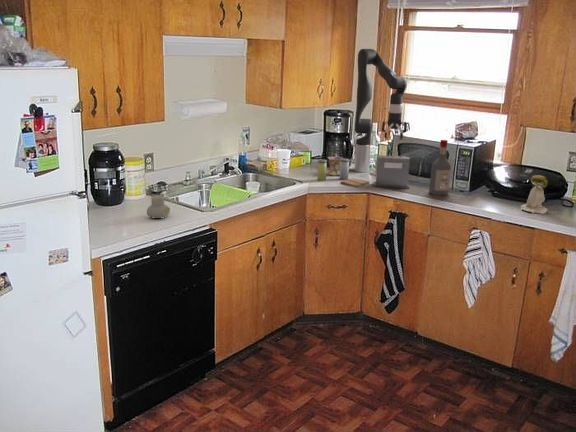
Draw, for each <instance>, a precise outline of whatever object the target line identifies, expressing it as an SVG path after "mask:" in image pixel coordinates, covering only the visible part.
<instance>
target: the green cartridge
mask: <svg viewBox="0 0 576 432" xmlns="http://www.w3.org/2000/svg"><path fill="white" fill-rule="evenodd" d="M327 160H328V159H318V161H317V181H318V182H326V180H327V167H328V166H327V162H328V161H327ZM326 166H327V167H326Z"/></svg>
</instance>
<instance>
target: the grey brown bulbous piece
mask: <svg viewBox="0 0 576 432" xmlns="http://www.w3.org/2000/svg"><path fill="white" fill-rule="evenodd" d="M150 200H151V202H150V205H149V206H148V207H147V209H146V215H147V216H148V217H149V216H150V218H151V217H154V218H161V217H165V216H166V215H168V216H169V214H170V211H171V210H170V207H169V206H168V205H166V204H165V196H163V195H160V194H159V195H157V194H156V195H153V196H151V199H150ZM166 217H167V216H166ZM166 217H165V218H166ZM154 218H153V219H154Z"/></svg>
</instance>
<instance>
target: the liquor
mask: <svg viewBox="0 0 576 432" xmlns="http://www.w3.org/2000/svg"><path fill="white" fill-rule="evenodd" d="M439 145H440V146H439V154H438V158H437V157H436V159H435V160H434V161H433V162H432V164H431V170H430V177H429V179H430V180H429V187H428V192H429V193H430V194H431V195H432V196H433V195H434V196H447V195H448V194H449V192H450V191H449V190H450V181H451V172H452V164H451V163H450V161H449V160H448V159H447V147H448V139H447V140H446V139H441V140H440V144H439Z"/></svg>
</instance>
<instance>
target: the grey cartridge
mask: <svg viewBox="0 0 576 432" xmlns="http://www.w3.org/2000/svg"><path fill="white" fill-rule="evenodd" d="M349 169H350V159H349V158H343V159H341V167H340V175H339V180H342V181H345V180H348V179H349V171H350V170H349Z"/></svg>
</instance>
